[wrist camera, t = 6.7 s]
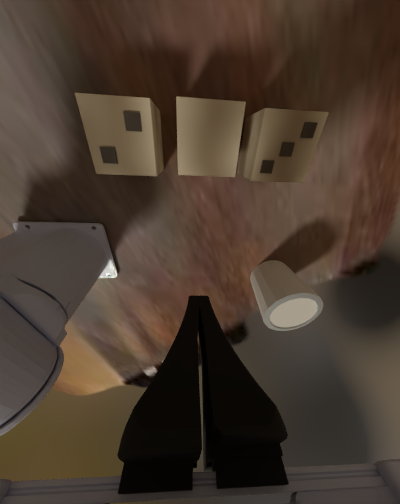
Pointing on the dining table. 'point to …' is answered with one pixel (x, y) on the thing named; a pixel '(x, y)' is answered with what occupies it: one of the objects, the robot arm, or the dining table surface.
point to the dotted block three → (280, 144)
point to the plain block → (208, 136)
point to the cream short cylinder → (283, 297)
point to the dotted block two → (122, 134)
